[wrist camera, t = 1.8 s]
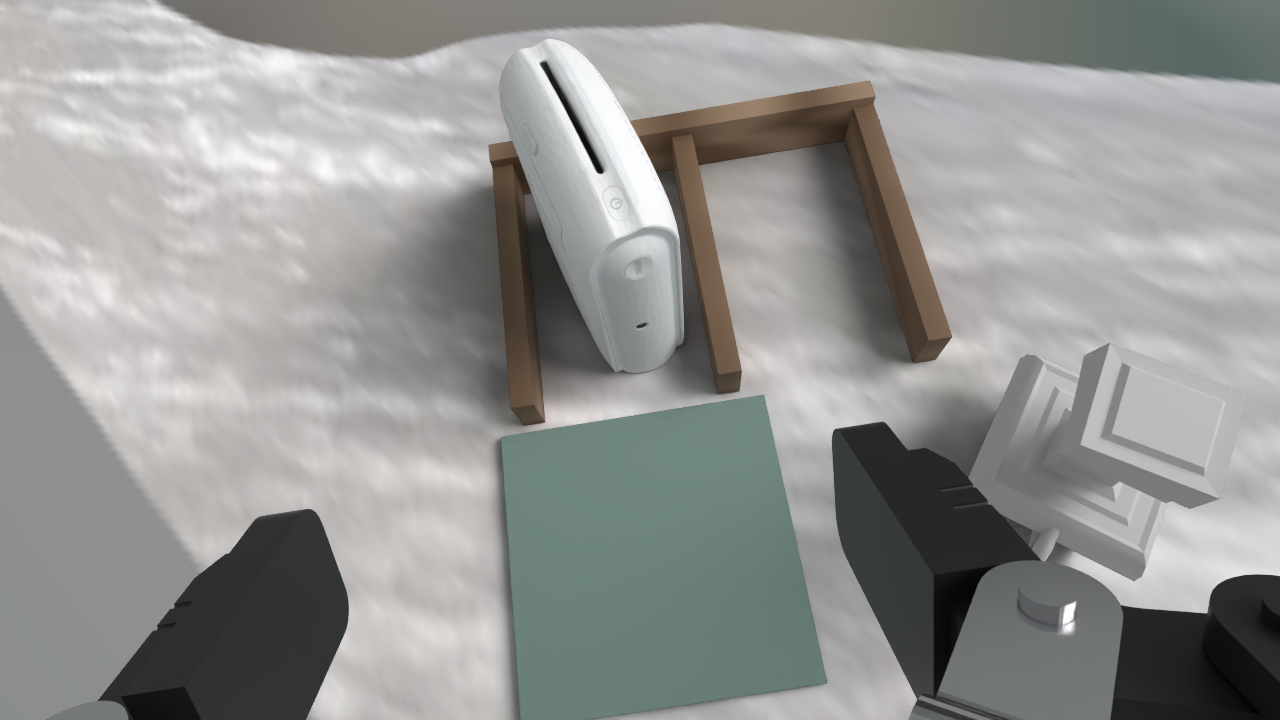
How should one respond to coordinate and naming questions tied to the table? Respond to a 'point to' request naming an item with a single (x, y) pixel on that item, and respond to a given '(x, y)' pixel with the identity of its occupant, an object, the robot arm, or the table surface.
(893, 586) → the robot arm
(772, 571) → the mat
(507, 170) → the lane rack
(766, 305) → the table surface
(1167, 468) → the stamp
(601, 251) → the photo printer
